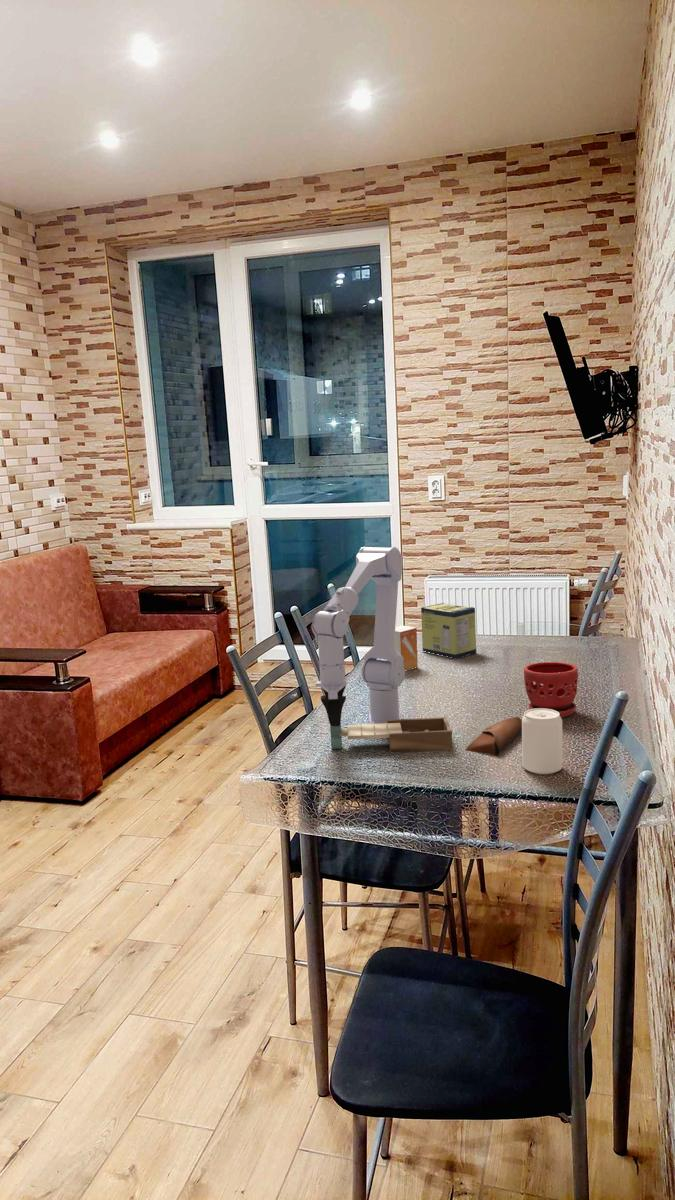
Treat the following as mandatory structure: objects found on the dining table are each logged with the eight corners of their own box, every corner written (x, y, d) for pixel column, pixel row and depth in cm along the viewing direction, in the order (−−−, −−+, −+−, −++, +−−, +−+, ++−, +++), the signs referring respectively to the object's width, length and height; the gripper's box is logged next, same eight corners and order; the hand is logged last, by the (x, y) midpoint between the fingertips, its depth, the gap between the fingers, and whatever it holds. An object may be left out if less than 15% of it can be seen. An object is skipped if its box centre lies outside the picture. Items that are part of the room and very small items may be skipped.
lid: (331, 740, 189) (330, 719, 189) (400, 737, 189) (399, 716, 188) (331, 752, 182) (330, 730, 181) (403, 749, 182) (402, 727, 181)
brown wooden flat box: (387, 737, 190) (387, 719, 190) (446, 734, 190) (446, 717, 190) (390, 752, 181) (389, 734, 180) (452, 750, 180) (451, 731, 180)
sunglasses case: (490, 725, 195) (503, 704, 192) (514, 743, 192) (528, 722, 190) (463, 750, 180) (477, 728, 177) (489, 770, 177) (504, 747, 174)
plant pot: (584, 708, 204) (584, 663, 202) (567, 723, 194) (567, 675, 192) (535, 702, 212) (535, 658, 210) (516, 716, 201) (515, 670, 199)
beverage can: (544, 779, 162) (544, 722, 160) (514, 768, 168) (513, 713, 166) (570, 768, 166) (570, 713, 164) (539, 758, 173) (539, 705, 171)
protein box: (442, 646, 278) (441, 602, 275) (477, 653, 266) (476, 607, 264) (421, 652, 272) (419, 607, 269) (455, 659, 260) (454, 612, 257)
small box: (401, 673, 246) (400, 632, 244) (386, 670, 251) (384, 629, 249) (418, 667, 252) (417, 627, 250) (403, 664, 256) (401, 624, 254)
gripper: (315, 656, 189) (318, 711, 192) (313, 672, 175) (317, 731, 178) (345, 654, 189) (348, 709, 192) (345, 670, 175) (348, 730, 178)
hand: (335, 720), depth 185 cm, fingers open, 7 cm apart
